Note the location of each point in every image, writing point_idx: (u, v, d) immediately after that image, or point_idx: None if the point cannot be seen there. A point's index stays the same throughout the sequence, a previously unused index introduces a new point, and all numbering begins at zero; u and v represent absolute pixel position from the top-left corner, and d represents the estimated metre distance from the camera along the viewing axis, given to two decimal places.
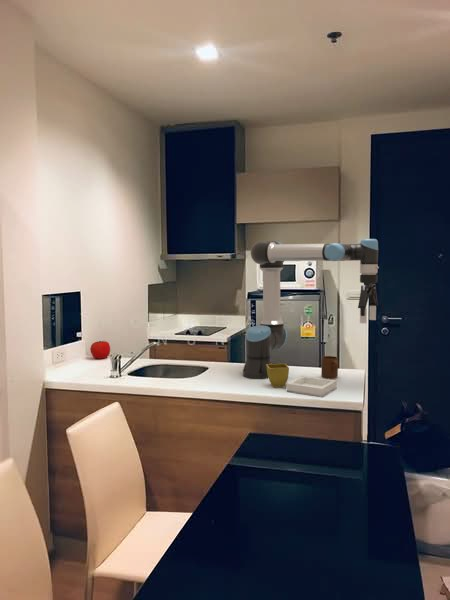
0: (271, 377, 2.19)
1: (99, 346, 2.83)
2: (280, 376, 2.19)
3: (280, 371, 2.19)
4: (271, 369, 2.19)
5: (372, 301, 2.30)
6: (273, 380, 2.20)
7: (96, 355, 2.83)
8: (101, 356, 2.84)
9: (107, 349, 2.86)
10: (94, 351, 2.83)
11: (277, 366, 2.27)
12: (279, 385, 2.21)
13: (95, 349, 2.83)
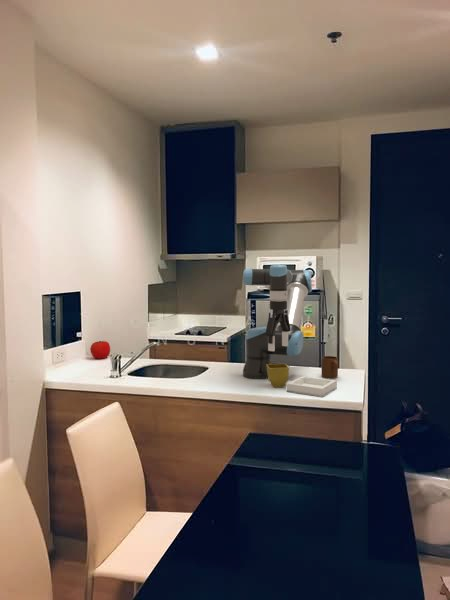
0: (271, 377, 2.19)
1: (99, 346, 2.83)
2: (280, 376, 2.19)
3: (280, 371, 2.19)
4: (271, 369, 2.19)
5: (284, 327, 2.27)
6: (273, 380, 2.20)
7: (96, 355, 2.83)
8: (101, 356, 2.84)
9: (107, 349, 2.86)
10: (94, 351, 2.83)
11: (277, 366, 2.27)
12: (279, 385, 2.21)
13: (95, 349, 2.83)
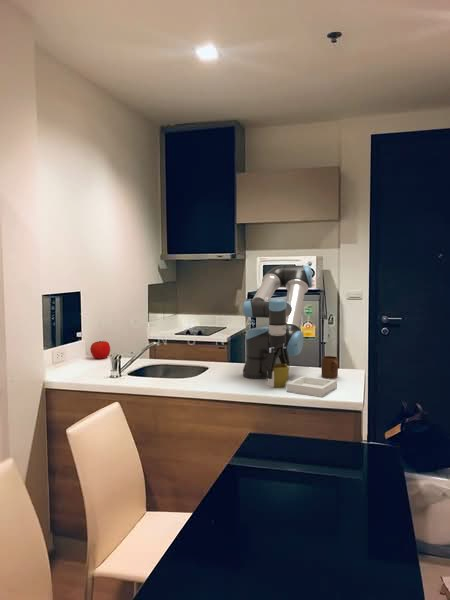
0: None
1: (99, 346, 2.83)
2: (280, 376, 2.19)
3: (280, 371, 2.19)
4: None
5: (283, 361, 2.27)
6: None
7: (96, 355, 2.83)
8: (101, 356, 2.84)
9: (107, 349, 2.86)
10: (94, 351, 2.83)
11: (277, 366, 2.27)
12: (279, 385, 2.21)
13: (95, 349, 2.83)
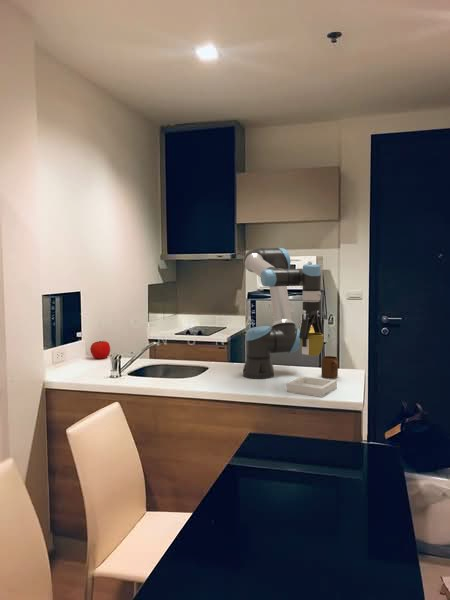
0: None
1: (99, 346, 2.83)
2: (315, 344, 2.10)
3: (315, 339, 2.10)
4: None
5: (316, 330, 2.18)
6: None
7: (96, 355, 2.83)
8: (101, 356, 2.84)
9: (107, 349, 2.86)
10: (94, 351, 2.83)
11: (311, 335, 2.18)
12: (313, 354, 2.12)
13: (95, 349, 2.83)
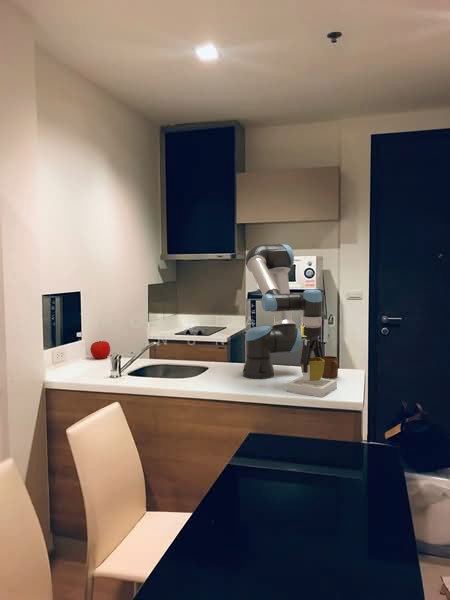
0: None
1: (99, 346, 2.83)
2: (315, 370, 2.11)
3: (315, 364, 2.11)
4: None
5: (317, 354, 2.19)
6: None
7: (96, 355, 2.83)
8: (101, 356, 2.84)
9: (107, 349, 2.86)
10: (94, 351, 2.83)
11: (311, 360, 2.19)
12: (314, 379, 2.13)
13: (95, 349, 2.83)
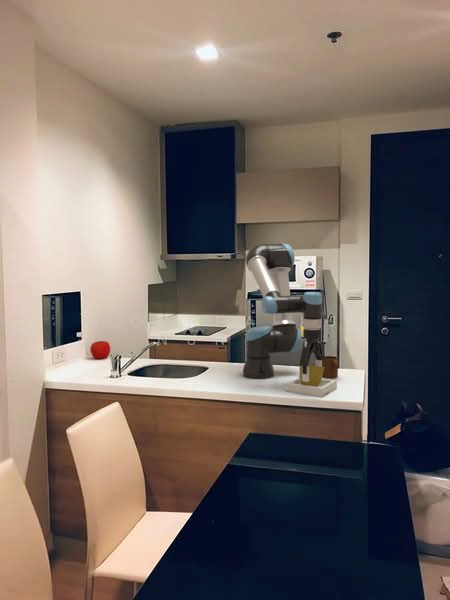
0: None
1: (99, 346, 2.83)
2: (314, 374, 2.11)
3: (315, 369, 2.11)
4: None
5: (317, 356, 2.20)
6: None
7: (96, 355, 2.83)
8: (101, 356, 2.84)
9: (107, 349, 2.86)
10: (94, 351, 2.83)
11: None
12: (311, 385, 2.11)
13: (95, 349, 2.83)
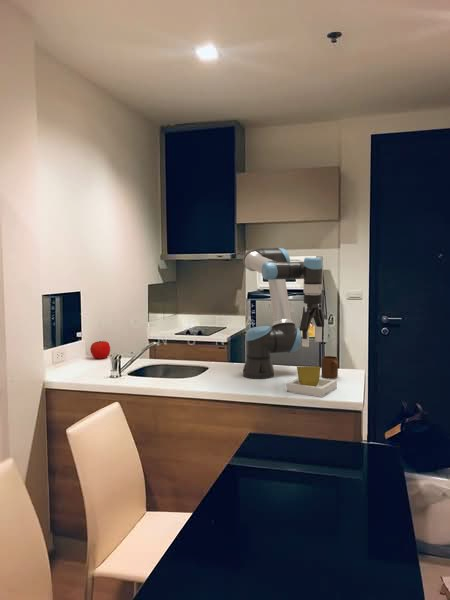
0: (302, 376, 2.11)
1: (99, 346, 2.83)
2: (311, 376, 2.11)
3: (311, 370, 2.11)
4: (302, 368, 2.11)
5: (318, 322, 2.18)
6: (304, 380, 2.11)
7: (96, 355, 2.83)
8: (101, 356, 2.84)
9: (107, 349, 2.86)
10: (94, 351, 2.83)
11: None
12: None
13: (95, 349, 2.83)
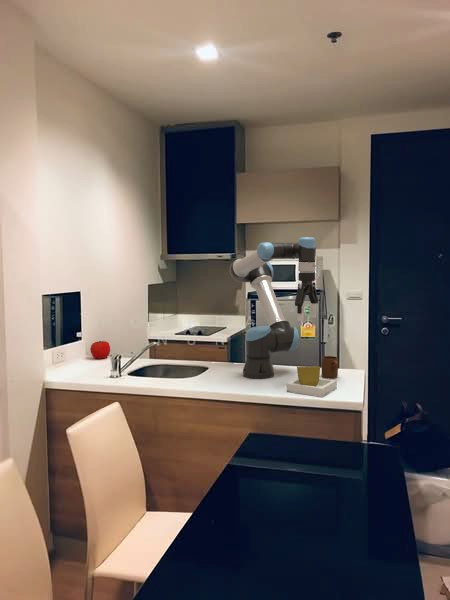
0: (302, 376, 2.11)
1: (99, 346, 2.83)
2: (311, 375, 2.11)
3: (311, 370, 2.11)
4: (301, 367, 2.11)
5: (312, 299, 2.32)
6: (304, 380, 2.11)
7: (96, 355, 2.83)
8: (101, 356, 2.84)
9: (107, 349, 2.86)
10: (94, 351, 2.83)
11: None
12: None
13: (95, 349, 2.83)
